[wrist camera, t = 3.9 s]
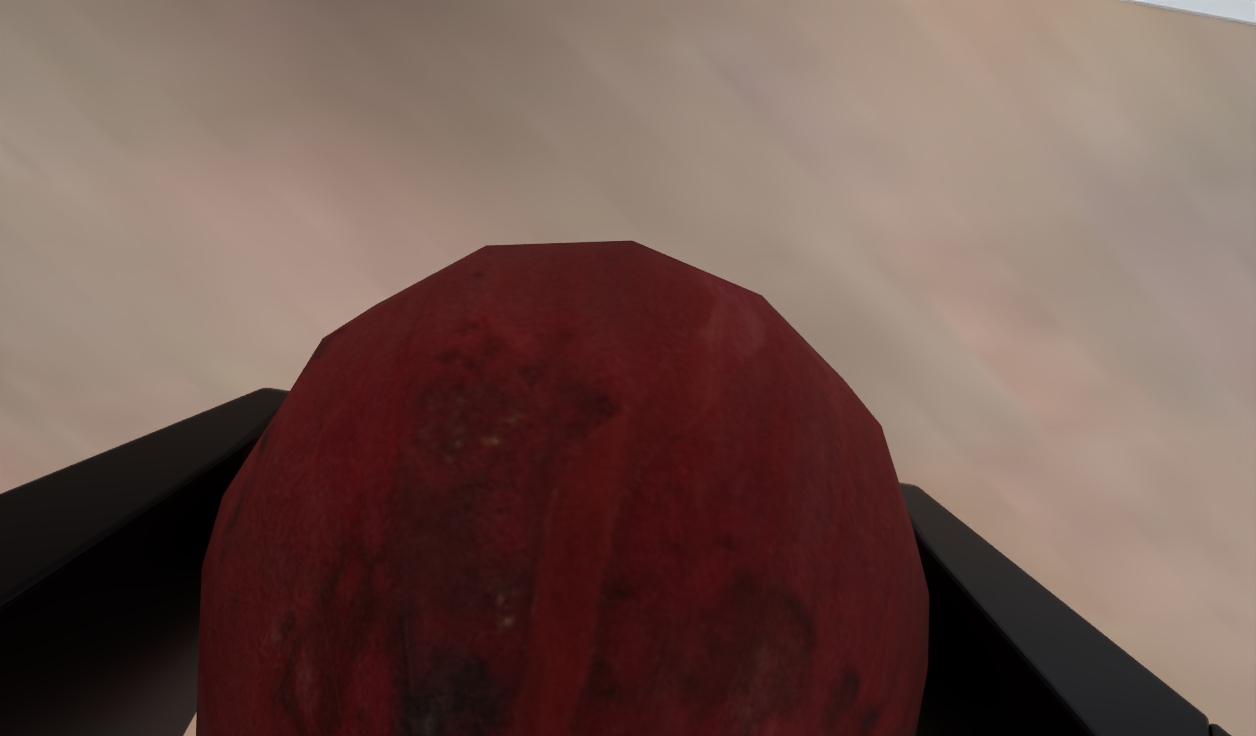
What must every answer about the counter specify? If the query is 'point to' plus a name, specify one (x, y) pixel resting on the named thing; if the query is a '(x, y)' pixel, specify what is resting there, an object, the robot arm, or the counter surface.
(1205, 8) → the bin
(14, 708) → the robot arm
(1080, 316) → the counter surface
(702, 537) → the onion
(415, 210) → the counter surface
